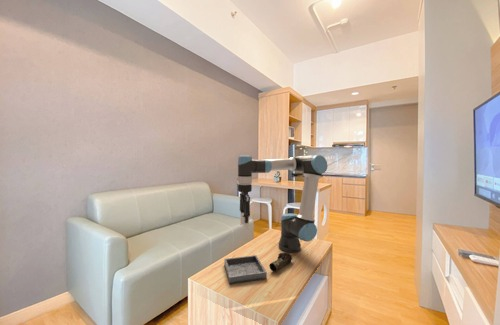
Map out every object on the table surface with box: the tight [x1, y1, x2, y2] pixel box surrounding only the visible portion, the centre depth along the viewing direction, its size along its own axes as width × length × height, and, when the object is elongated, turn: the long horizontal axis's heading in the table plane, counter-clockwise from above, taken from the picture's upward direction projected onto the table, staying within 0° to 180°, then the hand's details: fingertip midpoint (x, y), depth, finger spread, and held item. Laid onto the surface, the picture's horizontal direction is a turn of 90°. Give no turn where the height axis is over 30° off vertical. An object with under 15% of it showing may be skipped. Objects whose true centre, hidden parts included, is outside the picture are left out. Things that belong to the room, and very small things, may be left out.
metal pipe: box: [269, 252, 293, 273], centre depth 114 cm, size 18×7×6 cm, turn 137°
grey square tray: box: [223, 254, 268, 286], centre depth 108 cm, size 19×19×4 cm
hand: (244, 226), depth 108 cm, fingers open, 7 cm apart
